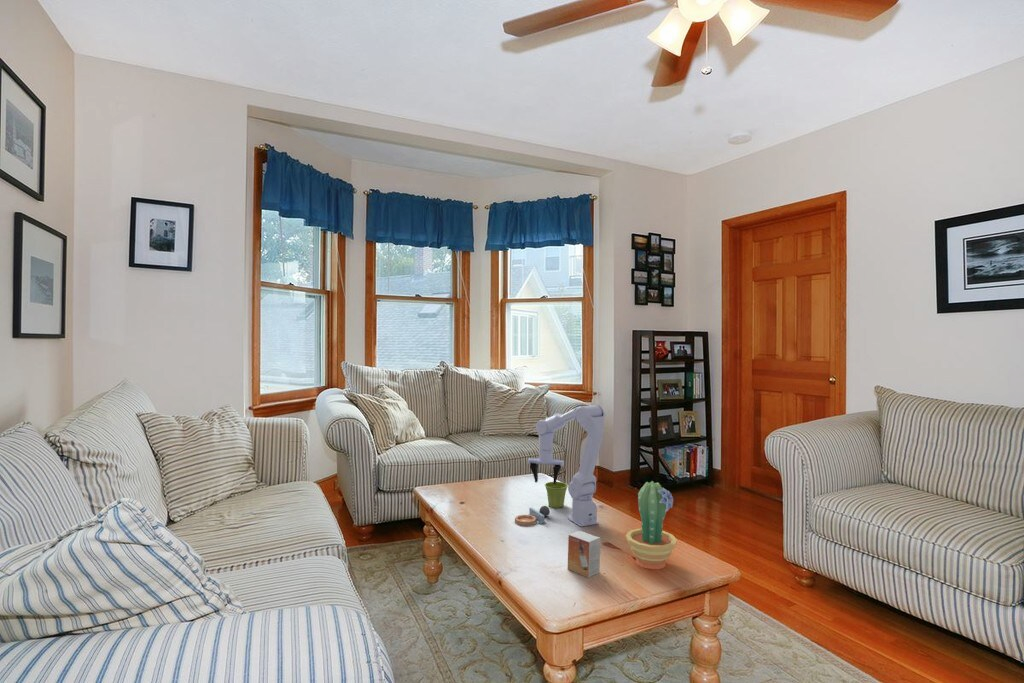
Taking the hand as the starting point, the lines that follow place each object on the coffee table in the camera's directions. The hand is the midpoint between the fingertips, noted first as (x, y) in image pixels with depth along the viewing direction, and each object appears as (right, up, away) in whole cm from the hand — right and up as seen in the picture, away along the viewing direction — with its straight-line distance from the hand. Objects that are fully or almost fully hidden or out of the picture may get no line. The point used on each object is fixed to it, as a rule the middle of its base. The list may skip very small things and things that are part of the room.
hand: (545, 482), depth 216 cm
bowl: (-9, -10, -18) cm, 22 cm away
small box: (+8, -11, -58) cm, 60 cm away
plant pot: (+4, -10, +1) cm, 11 cm away
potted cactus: (+29, -11, -52) cm, 61 cm away
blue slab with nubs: (-4, -10, -15) cm, 19 cm away
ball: (-1, -10, -11) cm, 15 cm away
